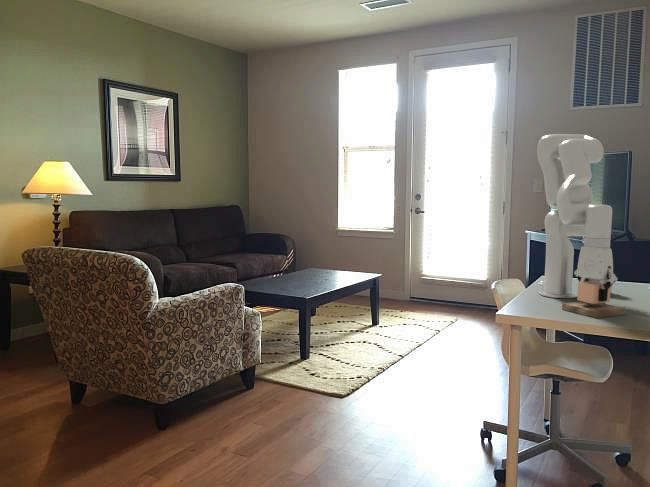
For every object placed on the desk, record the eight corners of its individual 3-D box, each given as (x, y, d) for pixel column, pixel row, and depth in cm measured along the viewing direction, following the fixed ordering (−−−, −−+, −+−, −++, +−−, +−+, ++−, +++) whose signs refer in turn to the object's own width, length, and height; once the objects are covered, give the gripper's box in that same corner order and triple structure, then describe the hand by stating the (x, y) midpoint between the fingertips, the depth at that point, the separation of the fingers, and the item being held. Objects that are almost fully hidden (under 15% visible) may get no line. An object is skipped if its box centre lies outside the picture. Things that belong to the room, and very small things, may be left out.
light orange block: (577, 300, 180) (578, 280, 180) (593, 298, 183) (595, 278, 183) (592, 303, 175) (594, 283, 174) (609, 302, 178) (611, 281, 177)
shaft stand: (562, 309, 183) (563, 289, 182) (590, 306, 188) (591, 287, 187) (595, 318, 171) (596, 296, 170) (625, 314, 176) (626, 293, 175)
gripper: (566, 241, 183) (563, 295, 185) (612, 246, 168) (608, 305, 170) (583, 240, 186) (580, 293, 188) (629, 245, 171) (625, 303, 173)
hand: (593, 298), depth 179 cm, fingers closed on light orange block, 6 cm apart
